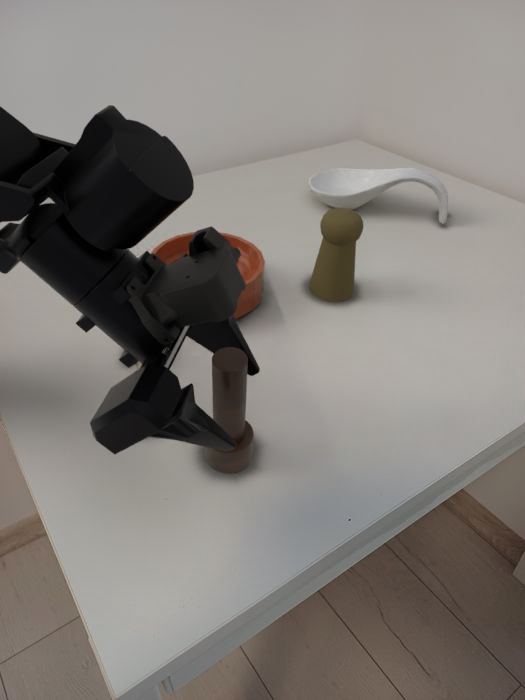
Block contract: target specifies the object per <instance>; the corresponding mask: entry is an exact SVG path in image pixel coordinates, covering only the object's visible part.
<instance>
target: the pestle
mask: <svg viewBox="0 0 525 700" xmlns="http://www.w3.org/2000/svg"><path fill="white" fill-rule="evenodd" d="M212 354H213V355H212V356H211V391H212V396H211V397H212V419H213V420H214V421H215V422H216V423H218V424H219V425H220V426H221V427H222V428H223V429H224V430H225V431H226V432H227V433H228V434H229V435H230V436H231V437H232V439H233V440H234V441H235V442H236V444H237V445H236V448H235V449H233V450H231V451H228V452H226V451H221V450H217V449H212V448H208V447H204V458H205V461H206V463H207V465H208V466H209V467H210V468H211V469H212V470H214V471H216V472H218V473H222V474H235V473H240V472H241V471H243V470H244V469H246V468H247V467H248V466H249V465H250V463H251V462H252V460H253V451H254V438H255V437H254V435H255V434H254V428H253V427H252V425H251V423H250V422H249V421H247V420H246V417H247V416H246V412H247V389H248V388H247V387H248V374H247V368H248V358H247V355H246V354H245V353H244V352H243V351H242V350H240V349H238V348H234V347H225V348H221V349H219V350H217V351H216V352H215V353H212Z"/></svg>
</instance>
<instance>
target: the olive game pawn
mask: <svg viewBox="0 0 525 700" xmlns="http://www.w3.org/2000/svg"><path fill="white" fill-rule="evenodd" d="M319 225H320V234H321V236H322V239H321V243H320V246H319V250H318V253H317V255H316V256H317V257H316V259H315V263H314V267H313V270H312V274H311V277H310V281H309V284H308V290H309V292H310V293H311V294H312V295H313V297H315V298H316V299H319V300H321V301H324V302H329V303H340V302H345V301H348V300H350V299H351V298H352V297H353V295H354V293H355V277H356V276H355V273H356V252H357V251H356V250H357V241H358V240H359V239H360V238H361V236H362V233H363V232H364V231H363V230H364V220H363V218H362V216H361V215H360V214H359V213H358V212H356V211H355V210H354V209H353V210H350V209H346V208H331V209H329V210H328V211H325V213H324V214H323V215H322V218H321V220H320V224H319Z"/></svg>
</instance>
